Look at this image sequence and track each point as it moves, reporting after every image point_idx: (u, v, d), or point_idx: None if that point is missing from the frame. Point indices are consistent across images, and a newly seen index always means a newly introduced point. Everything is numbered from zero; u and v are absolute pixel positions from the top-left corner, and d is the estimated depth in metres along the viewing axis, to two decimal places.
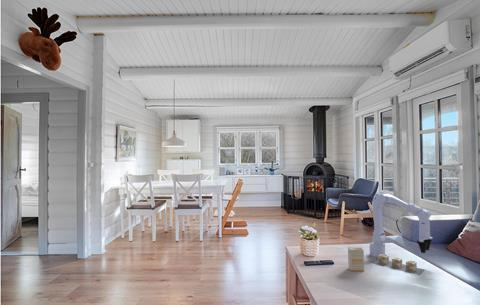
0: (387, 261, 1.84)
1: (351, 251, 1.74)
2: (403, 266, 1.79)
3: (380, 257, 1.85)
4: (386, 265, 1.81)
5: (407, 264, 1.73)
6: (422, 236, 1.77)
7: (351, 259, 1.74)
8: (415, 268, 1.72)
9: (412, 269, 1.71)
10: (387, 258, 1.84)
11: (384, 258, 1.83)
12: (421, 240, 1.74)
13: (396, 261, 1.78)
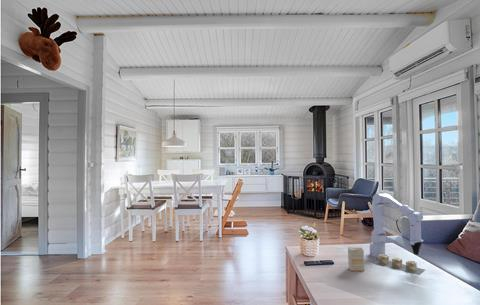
0: (387, 261, 1.84)
1: (351, 251, 1.74)
2: (403, 266, 1.79)
3: (380, 257, 1.85)
4: (386, 265, 1.81)
5: (407, 264, 1.73)
6: (413, 239, 1.74)
7: (351, 259, 1.74)
8: (415, 268, 1.72)
9: (412, 269, 1.71)
10: (387, 258, 1.84)
11: (384, 258, 1.83)
12: (412, 243, 1.70)
13: (396, 261, 1.78)
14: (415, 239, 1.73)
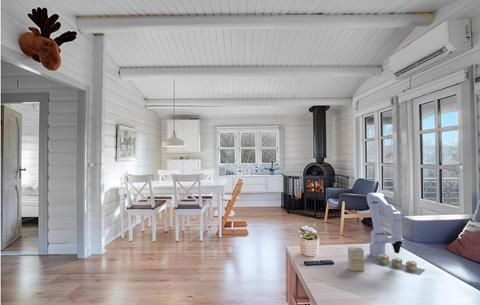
0: (387, 261, 1.84)
1: (351, 251, 1.74)
2: (403, 266, 1.79)
3: (380, 257, 1.85)
4: (386, 265, 1.81)
5: (407, 264, 1.73)
6: (394, 238, 1.78)
7: (351, 259, 1.74)
8: (415, 268, 1.72)
9: (412, 269, 1.71)
10: (387, 258, 1.84)
11: (384, 258, 1.83)
12: (392, 242, 1.75)
13: (396, 261, 1.78)
14: (396, 238, 1.78)
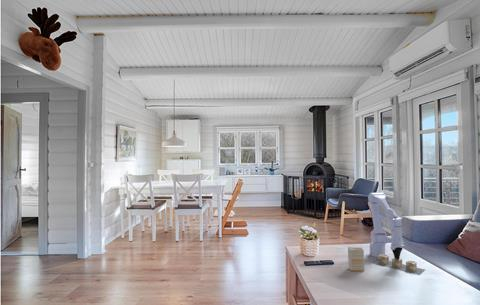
0: (387, 261, 1.84)
1: (351, 251, 1.74)
2: (403, 266, 1.79)
3: (380, 257, 1.85)
4: (386, 265, 1.81)
5: (407, 264, 1.73)
6: (394, 244, 1.78)
7: (351, 259, 1.74)
8: (415, 268, 1.72)
9: (412, 269, 1.71)
10: (387, 258, 1.84)
11: (384, 258, 1.83)
12: (392, 248, 1.75)
13: (396, 261, 1.78)
14: (396, 244, 1.78)
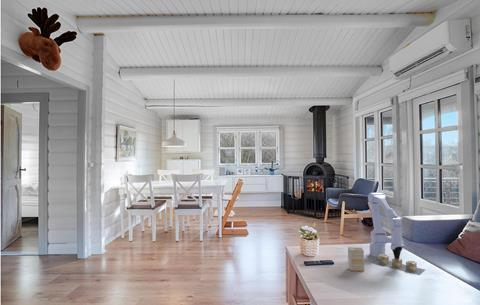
0: (387, 261, 1.84)
1: (351, 251, 1.74)
2: (403, 266, 1.79)
3: (380, 257, 1.85)
4: (386, 265, 1.81)
5: (407, 264, 1.73)
6: (394, 243, 1.78)
7: (351, 259, 1.74)
8: (415, 268, 1.72)
9: (412, 269, 1.71)
10: (387, 258, 1.84)
11: (384, 258, 1.83)
12: (392, 247, 1.75)
13: (396, 261, 1.78)
14: (396, 244, 1.78)
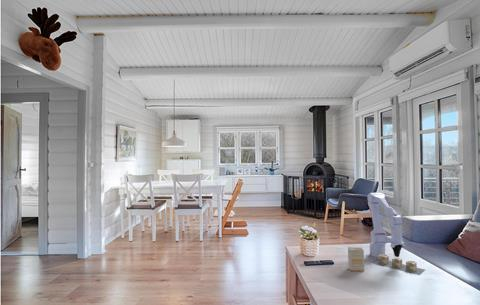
0: (387, 261, 1.84)
1: (351, 251, 1.74)
2: (403, 266, 1.79)
3: (380, 257, 1.85)
4: (386, 265, 1.81)
5: (407, 264, 1.73)
6: (394, 241, 1.78)
7: (351, 259, 1.74)
8: (415, 268, 1.72)
9: (412, 269, 1.71)
10: (387, 258, 1.84)
11: (384, 258, 1.83)
12: (392, 245, 1.75)
13: (396, 261, 1.78)
14: (396, 242, 1.78)
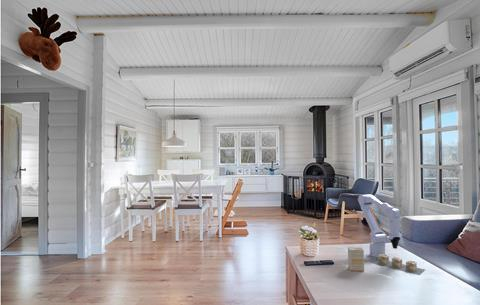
0: (387, 261, 1.84)
1: (351, 251, 1.74)
2: (403, 266, 1.79)
3: (380, 257, 1.85)
4: (386, 265, 1.81)
5: (407, 264, 1.73)
6: (392, 234, 1.86)
7: (351, 259, 1.74)
8: (415, 268, 1.72)
9: (412, 269, 1.71)
10: (387, 258, 1.84)
11: (384, 258, 1.83)
12: (390, 237, 1.82)
13: (396, 261, 1.78)
14: (394, 234, 1.85)
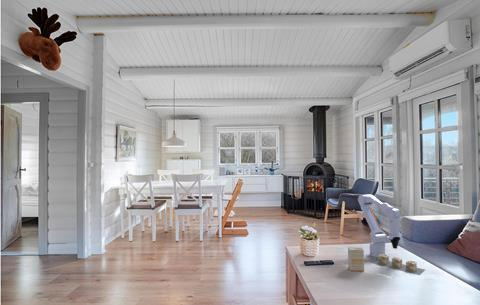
0: (387, 261, 1.84)
1: (351, 251, 1.74)
2: (403, 266, 1.79)
3: (380, 257, 1.85)
4: (386, 265, 1.81)
5: (407, 264, 1.73)
6: (392, 234, 1.86)
7: (351, 259, 1.74)
8: (415, 268, 1.72)
9: (412, 269, 1.71)
10: (387, 258, 1.84)
11: (384, 258, 1.83)
12: (390, 237, 1.82)
13: (396, 261, 1.78)
14: (394, 234, 1.85)
